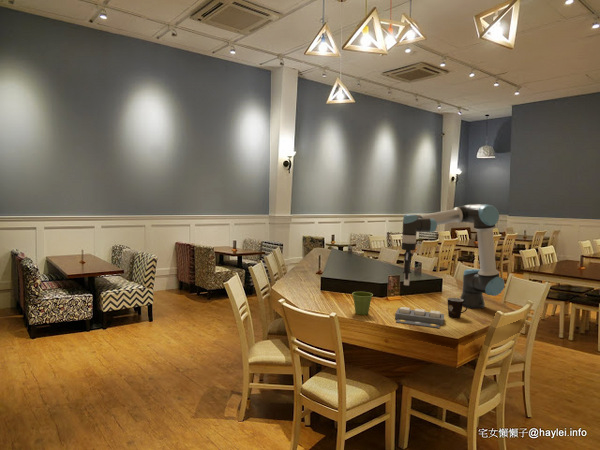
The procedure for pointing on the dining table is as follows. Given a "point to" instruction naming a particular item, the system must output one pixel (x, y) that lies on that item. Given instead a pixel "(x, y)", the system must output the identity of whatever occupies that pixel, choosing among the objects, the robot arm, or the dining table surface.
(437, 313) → the button near
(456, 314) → the coffee mug
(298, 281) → the dining table surface
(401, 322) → the pattern card
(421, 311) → the button middle
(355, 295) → the plant pot
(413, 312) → the button board
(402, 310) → the button far
